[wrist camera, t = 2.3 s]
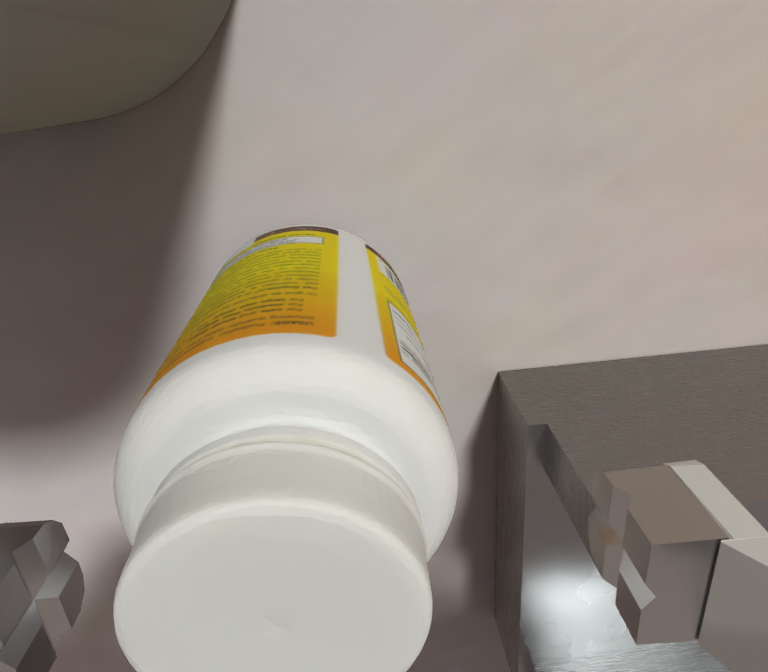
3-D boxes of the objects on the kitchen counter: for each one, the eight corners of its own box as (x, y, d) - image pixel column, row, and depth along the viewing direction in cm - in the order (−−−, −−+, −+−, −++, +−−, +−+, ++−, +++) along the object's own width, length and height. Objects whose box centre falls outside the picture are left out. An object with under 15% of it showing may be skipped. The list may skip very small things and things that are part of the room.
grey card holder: (495, 617, 22) (558, 834, 16) (498, 371, 17) (590, 539, 11) (814, 579, 22) (1001, 776, 16) (899, 330, 18) (1209, 468, 11)
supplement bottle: (180, 345, 16) (-31, 698, 7) (269, 178, 14) (146, 350, 5) (346, 425, 18) (353, 799, 9) (444, 282, 16) (590, 558, 7)
